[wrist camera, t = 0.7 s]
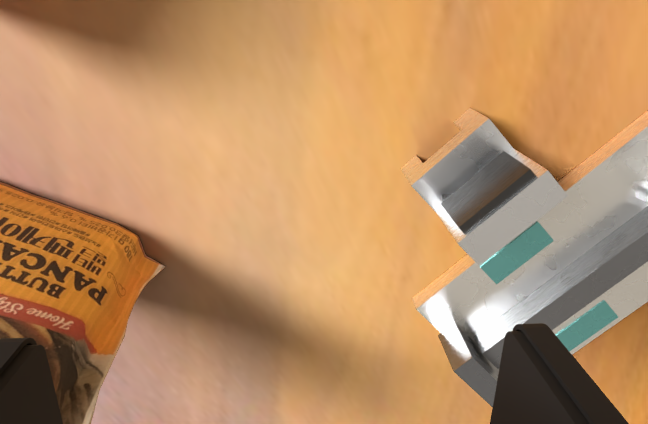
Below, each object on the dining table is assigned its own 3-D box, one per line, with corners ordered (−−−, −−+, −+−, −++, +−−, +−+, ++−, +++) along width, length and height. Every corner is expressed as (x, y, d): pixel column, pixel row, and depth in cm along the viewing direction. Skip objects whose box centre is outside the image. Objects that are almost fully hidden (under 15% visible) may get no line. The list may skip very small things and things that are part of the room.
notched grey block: (400, 168, 34) (429, 213, 26) (469, 107, 33) (520, 136, 25) (445, 216, 35) (484, 271, 28) (513, 160, 34) (573, 202, 27)
